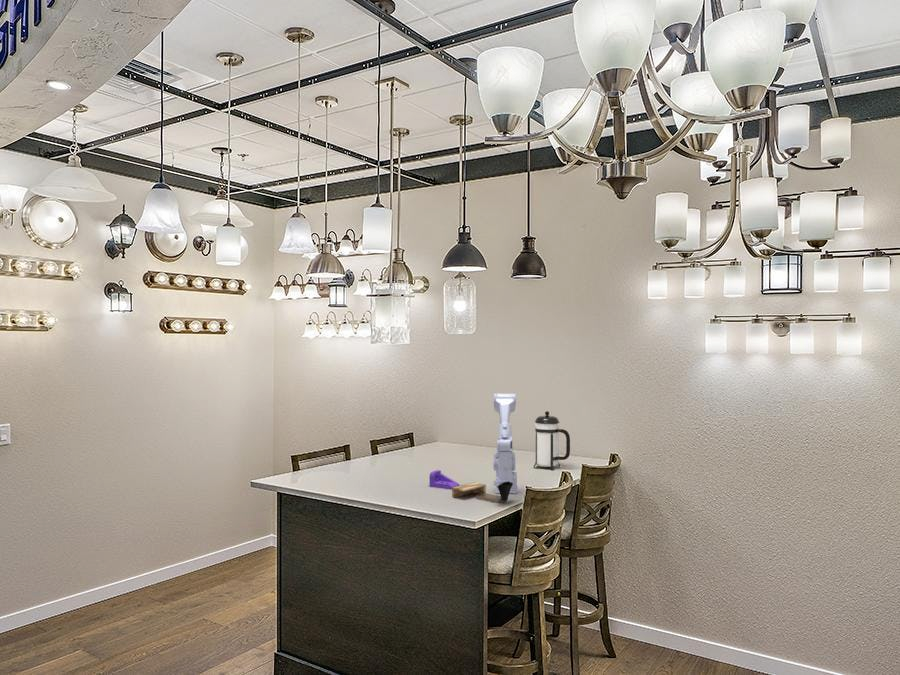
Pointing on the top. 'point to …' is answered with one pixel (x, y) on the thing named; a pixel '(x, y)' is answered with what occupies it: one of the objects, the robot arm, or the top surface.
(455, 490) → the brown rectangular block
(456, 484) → the bracket
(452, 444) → the top surface
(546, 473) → the top surface
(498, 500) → the grey rectangular block
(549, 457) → the coffee press
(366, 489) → the top surface
